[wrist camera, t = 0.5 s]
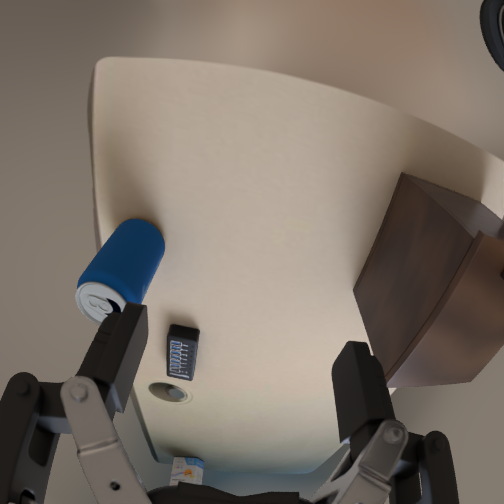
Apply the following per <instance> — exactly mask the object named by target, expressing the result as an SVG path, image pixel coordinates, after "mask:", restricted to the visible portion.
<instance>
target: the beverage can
mask: <svg viewBox="0 0 504 504" xmlns="http://www.w3.org/2000/svg"><path fill="white" fill-rule="evenodd" d="M164 251H165V243H164V239H163V237H162V235H161V233H160V232H159V230H158V229H157V228H156V227H155V226H153V225H152V224H151V223H149V222H147V221H145V220H141V219H129V220H126V221H124V222H122V223H121V224H120V225H119V226H118V228H117V229H116V230H115V231H114V233H113V234H112V235H111V236H110V238H109V239H108V240H107V242H106V243H105V244H104V245H103V247H102V248H101V249H100V251H99V252H98V253H97V255H96V256H95V257H94V259H93V260H92V261H91V263H90V264H89V266H88V267H87V268H86V270H85V271H84V273H83V274H82V275H81V277H80V278H79V281H78V285H77V291H76V302H77V305H78V307H79V309H80V310H81V311H82V313H83V314H84V315H85V316H86V317H87V318H88V319H89V320H91V321H92V322H94V323H95V324H97V325H99V326H100V325H101V323H102V321H103V319H104V318H106V317H107V316H108V315H109V314H110V313H112V312H113V311H114V312H118V313H122V311H123V309H124V307H125V305H126V303H127V302H128V301H130V302H134V303H138V304H141V303H142V301H143V299H144V296H145V294H146V292H147V290H148V287H149V285H150V283H151V281H152V278H153V276H154V274H155V272H156V270H157V268H158V266H159V263H160V261H161V259H162V257H163V255H164Z"/></svg>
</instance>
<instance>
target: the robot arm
mask: <svg viewBox="0 0 504 504" xmlns="http://www.w3.org/2000/svg"><path fill="white" fill-rule="evenodd" d="M497 26H498V32H499V36H500V39H501V42H502V44H503V47H504V4H502V5H501V7H500V8H499V10H498V14H497ZM147 339H148V314H147V306H146V305H142V304H138V303H134V302H130V301H128V302H127V303H126V305H125V307H124V309H123V311H122V313H118V312H114V311H113V312H112V313H110V314H109V315H108V316H107V317H106V318H104V319H103V321H102V323H101V325H100V327H99V329H98V332H97V333H96V335H95V338H94V341H92V343H91V345H90V347H89V350H88V352H87V354H86V356H85V358H84V361H83V363H82V364H81V367H80V369H79V371H78V372H77V374H76V375H75V376H74V377H71V378H69V379H68V380H67V381H66V382H62V383H50V382H38V380H37V378H36V377H35V376H33V375H32V374H30V373H27V372H21V373H17V374H16V375H14V376H13V377H12V378H11V379H10V380H9V382H8V384H7V387H6V389H5V391H4V393H3V396H2V398H1V401H0V504H44V499H45V494H46V489H47V484H48V479H49V475H50V471H51V467H52V463H53V459H54V455H55V451H56V448H57V444H58V440H59V437H60V434H61V433H65V434H72V435H73V437H74V440H75V443H76V446H77V449H78V451H77V456H78V459H79V462H80V465H81V467H82V470H83V472H84V474H85V477H86V479H87V481H88V484H89V486H90V488H91V490H92V492H93V494H94V496H95V499H96V500H97V503H98V504H384V502H385V500H386V499H387V497H388V495H389V502H390V504H459V499H458V491H457V484H456V477H455V471H454V465H453V460H452V455H451V450H450V445H449V441H448V439H447V437H446V436H445V435H444V434H443V433H442V432H439V431H432V432H430V433H428V434H427V435H426V436H423V435H418V434H414V433H411V432H408V431H407V429H406V427H405V426H404V425H403V424H402V423H401V422H400V421H398V420H396V418H395V415H394V411H393V406H392V402H391V398H390V394H389V390H388V387H387V382H386V378H385V375H384V371H383V367H382V365H381V363H380V362H379V360H378V359H377V358H376V356H373V355H371V354H370V350H369V346H368V344H367V343H366V342H357V341H348V342H347V343H346V345H345V346H344V348H343V349H342V351H341V352H340V354H339V355H338V357H337V359H336V360H335V362H334V364H333V367H332V382H333V389H334V396H335V404H336V412H337V420H338V428H339V437H340V443H350V449H349V450H348V451H347V453H346V454H345V456H344V457H343V459H342V460H341V461H340V463H339V464H338V466H337V467H336V469H335V470H334V472H333V473H332V474H331V476H330V477H329V479H328V480H327V481H326V482H325V484H324V485H323V486H322V487H321V488H319V489H318V490H317V491H316V492H315V493H314V495H312V497H311V498H310V499H309V500H307V499H304V498H301V497H299V492H267V493H261V494H255V495H249V496H236V495H233V494H230V493H227V492H224V491H221V490H218V489H215V488H213V487H210V486H205V485H198V484H192V483H187V482H181V481H178V485H170V486H164V487H160V488H156V489H153V490H151V491H149V492H147V490H146V488H145V486H144V485H143V483H142V481H141V479H140V477H139V476H138V474H137V472H136V470H135V468H134V466H133V465H132V463H131V461H130V459H129V457H128V455H127V453H126V451H125V449H124V446H123V444H122V442H121V440H120V438H119V436H118V433H117V431H116V429H115V427H114V424H113V422H112V421H113V418H114V415H115V412H116V411H117V412H120V413H124V410H125V406H126V404H127V400H128V397H129V394H130V391H131V388H132V385H133V382H134V379H135V376H136V373H137V370H138V367H139V364H140V361H141V358H142V355H143V352H144V350H145V347H146V344H147ZM419 473H420V477H421V485H422V497H421V488H420V479H419Z"/></svg>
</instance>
